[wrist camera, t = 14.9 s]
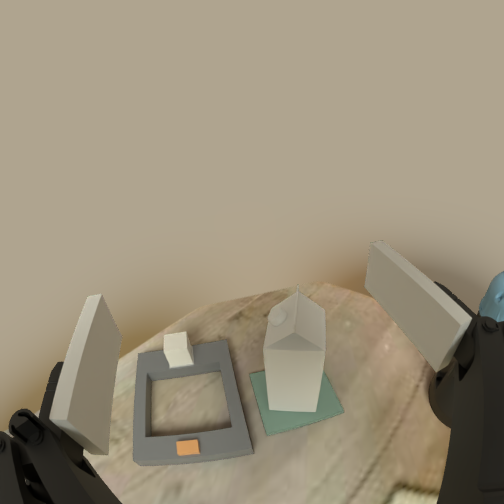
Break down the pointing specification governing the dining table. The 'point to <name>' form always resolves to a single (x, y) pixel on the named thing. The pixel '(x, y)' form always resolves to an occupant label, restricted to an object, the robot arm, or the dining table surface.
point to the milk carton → (294, 354)
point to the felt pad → (290, 419)
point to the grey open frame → (195, 444)
